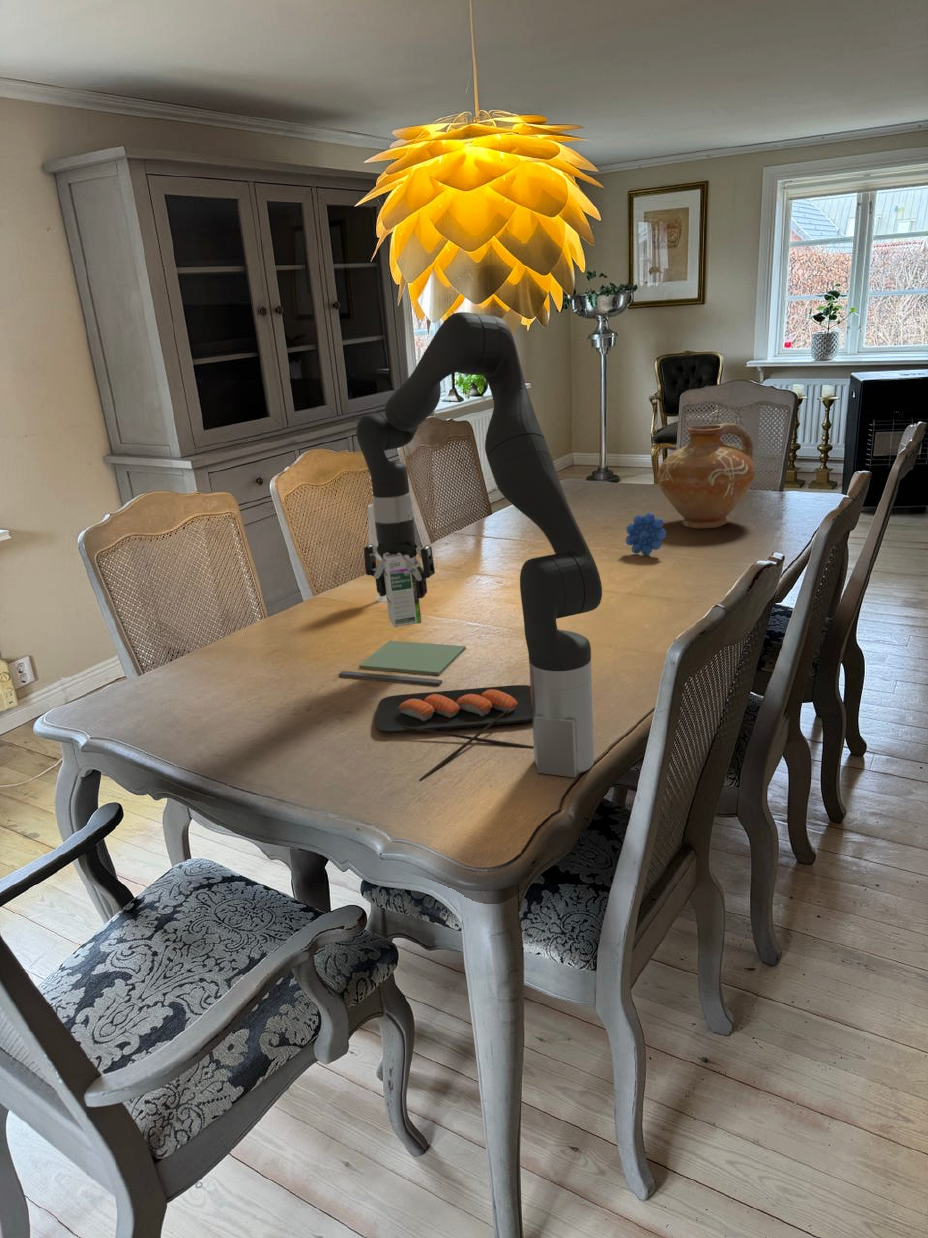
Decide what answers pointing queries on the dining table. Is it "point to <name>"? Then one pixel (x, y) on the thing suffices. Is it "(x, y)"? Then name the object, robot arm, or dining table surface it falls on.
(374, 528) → the champagne flute
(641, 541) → the blue bumpy cluster
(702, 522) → the jug
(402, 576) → the syrup box
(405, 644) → the mat
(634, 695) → the dining table surface
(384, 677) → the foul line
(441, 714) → the sushi plate
